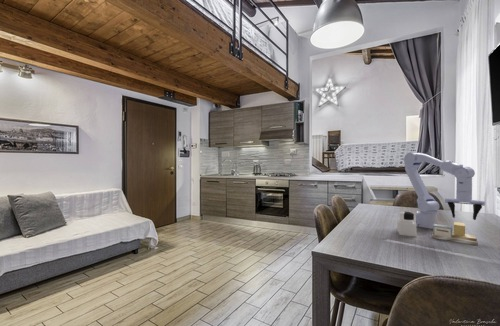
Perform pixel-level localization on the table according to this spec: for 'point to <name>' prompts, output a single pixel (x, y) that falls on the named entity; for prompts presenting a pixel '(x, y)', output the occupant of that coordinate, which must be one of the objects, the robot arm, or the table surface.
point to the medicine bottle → (406, 224)
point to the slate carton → (442, 230)
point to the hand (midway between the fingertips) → (463, 218)
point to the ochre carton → (459, 229)
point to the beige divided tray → (460, 238)
